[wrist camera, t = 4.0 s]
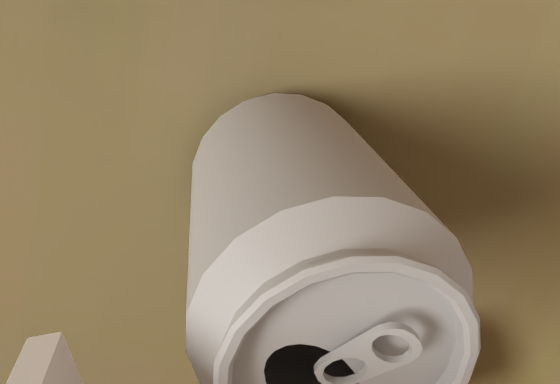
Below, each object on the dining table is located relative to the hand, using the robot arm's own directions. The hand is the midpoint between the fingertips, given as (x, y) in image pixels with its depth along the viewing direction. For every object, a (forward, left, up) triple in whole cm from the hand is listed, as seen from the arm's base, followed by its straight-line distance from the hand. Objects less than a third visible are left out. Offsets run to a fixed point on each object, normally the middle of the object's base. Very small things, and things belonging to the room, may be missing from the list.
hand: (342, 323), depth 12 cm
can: (0, 0, -11) cm, 11 cm away
